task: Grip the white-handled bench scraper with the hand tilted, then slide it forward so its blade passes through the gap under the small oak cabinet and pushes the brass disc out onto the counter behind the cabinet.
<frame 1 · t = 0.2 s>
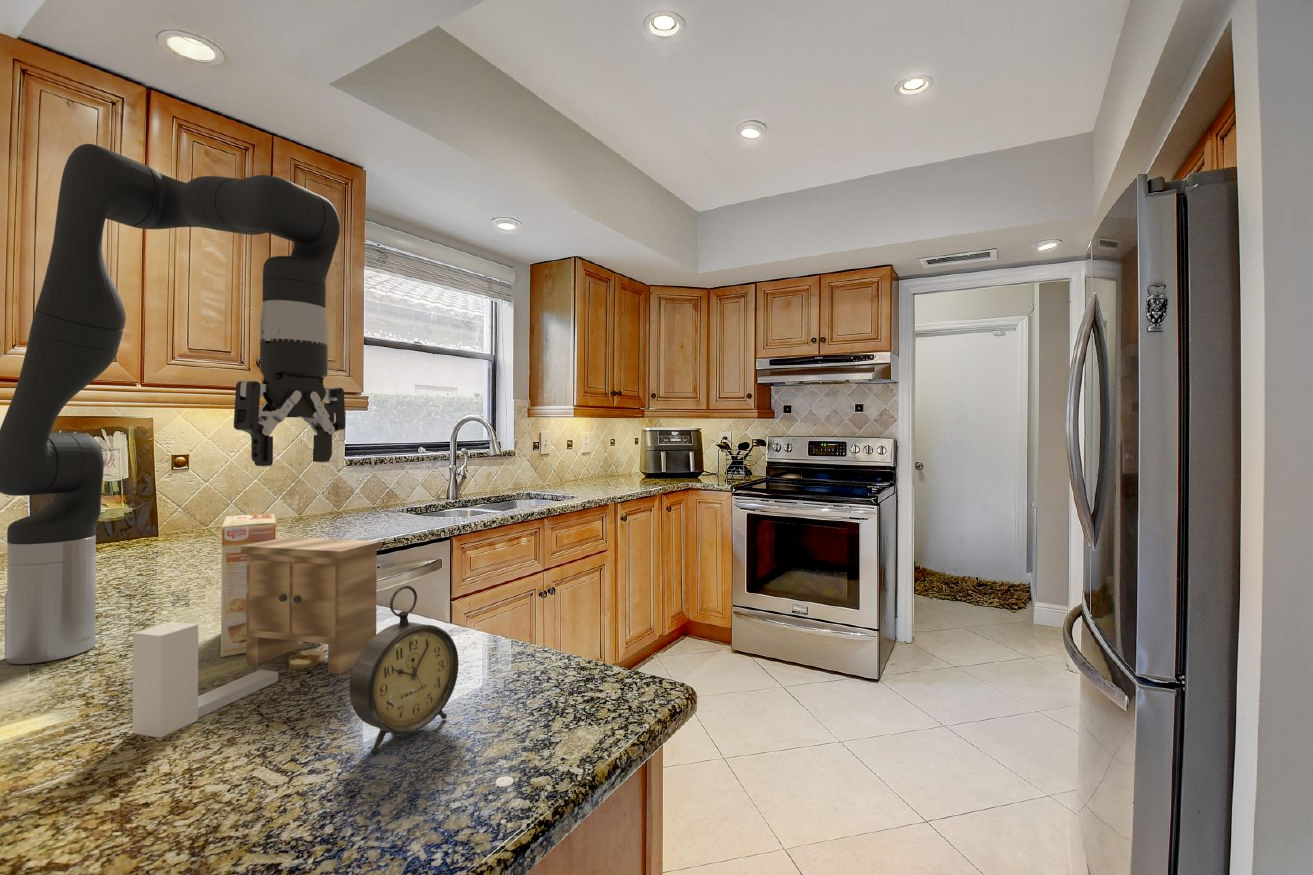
hand: (294, 463, 76), 29 cm above the countertop, tool pointing down, fingers open, 8 cm apart
alarm clock: (404, 735, 63), on the countertop
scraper: (165, 726, 65), on the countertop
coffeecake box: (249, 640, 93), on the countertop
cabinet: (312, 659, 84), on the countertop
token: (306, 664, 83), on the countertop
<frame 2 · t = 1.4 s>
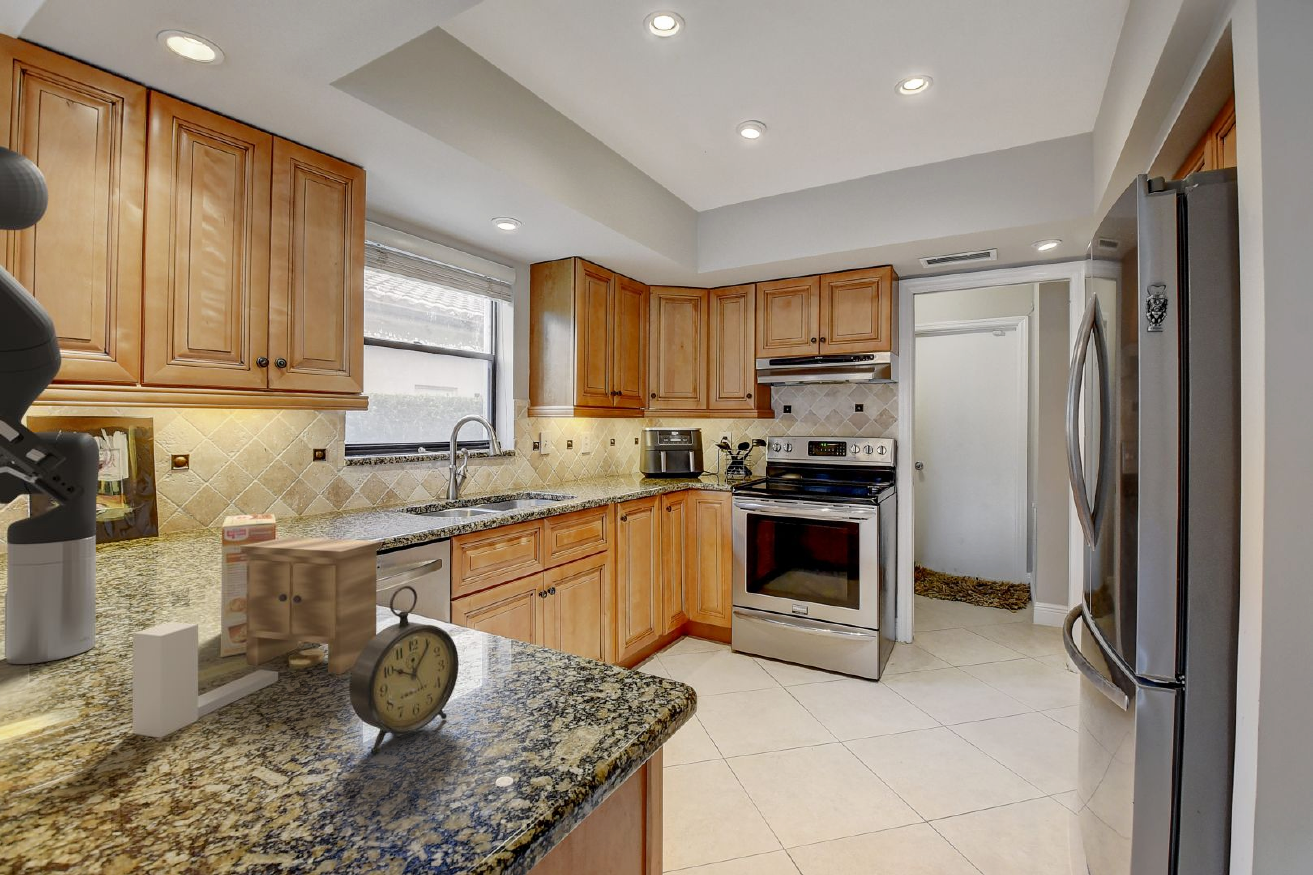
hand: (44, 498, 58), 26 cm above the countertop, tool tilted 45°, fingers open, 8 cm apart
nothing on the countertop moved.
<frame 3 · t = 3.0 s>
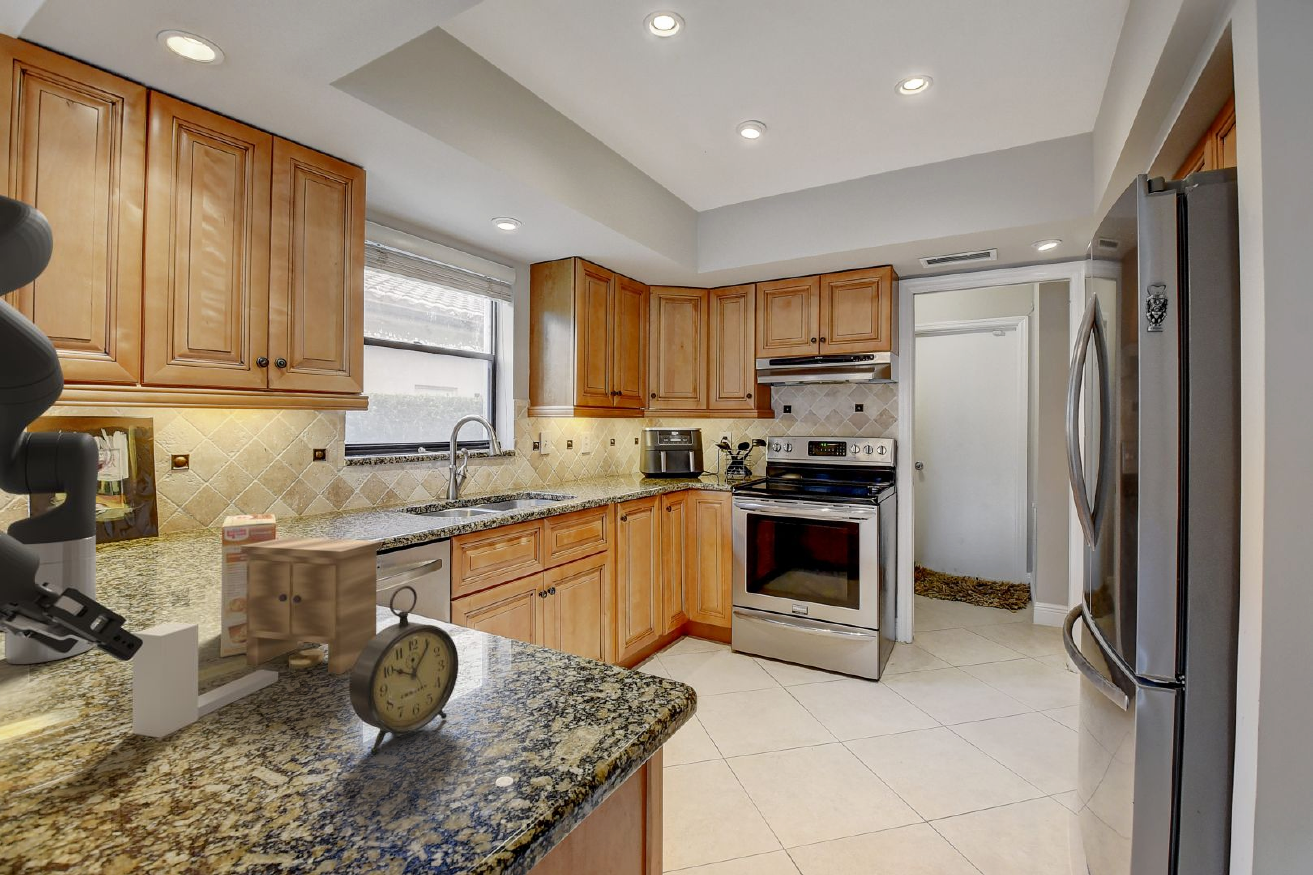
hand: (102, 647, 59), 11 cm above the countertop, tool tilted 45°, fingers open, 8 cm apart
nothing on the countertop moved.
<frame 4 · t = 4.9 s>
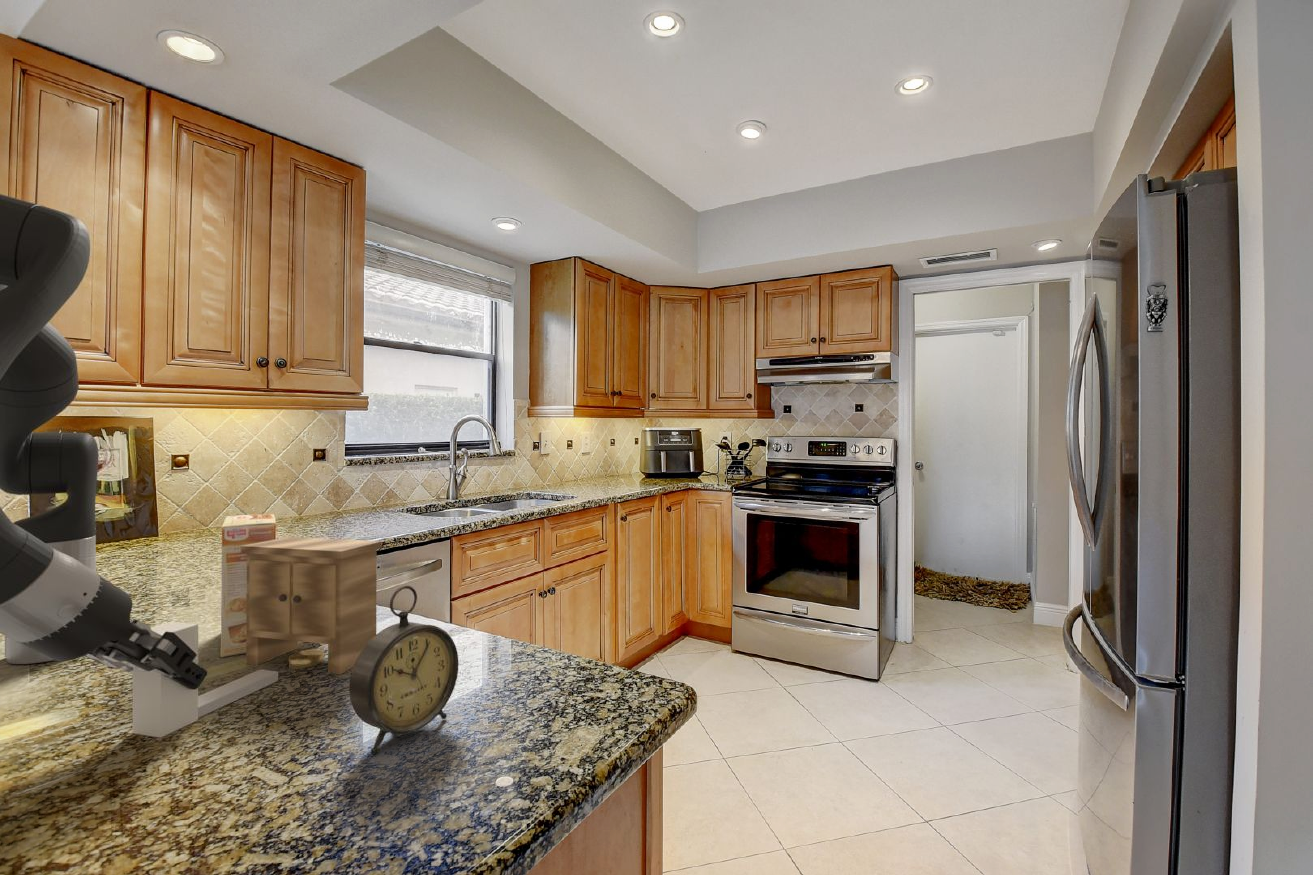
hand: (183, 678, 67), 5 cm above the countertop, tool tilted 45°, fingers closed on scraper, 4 cm apart
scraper: (165, 726, 65), on the countertop, touching gripper
everything else where it was.
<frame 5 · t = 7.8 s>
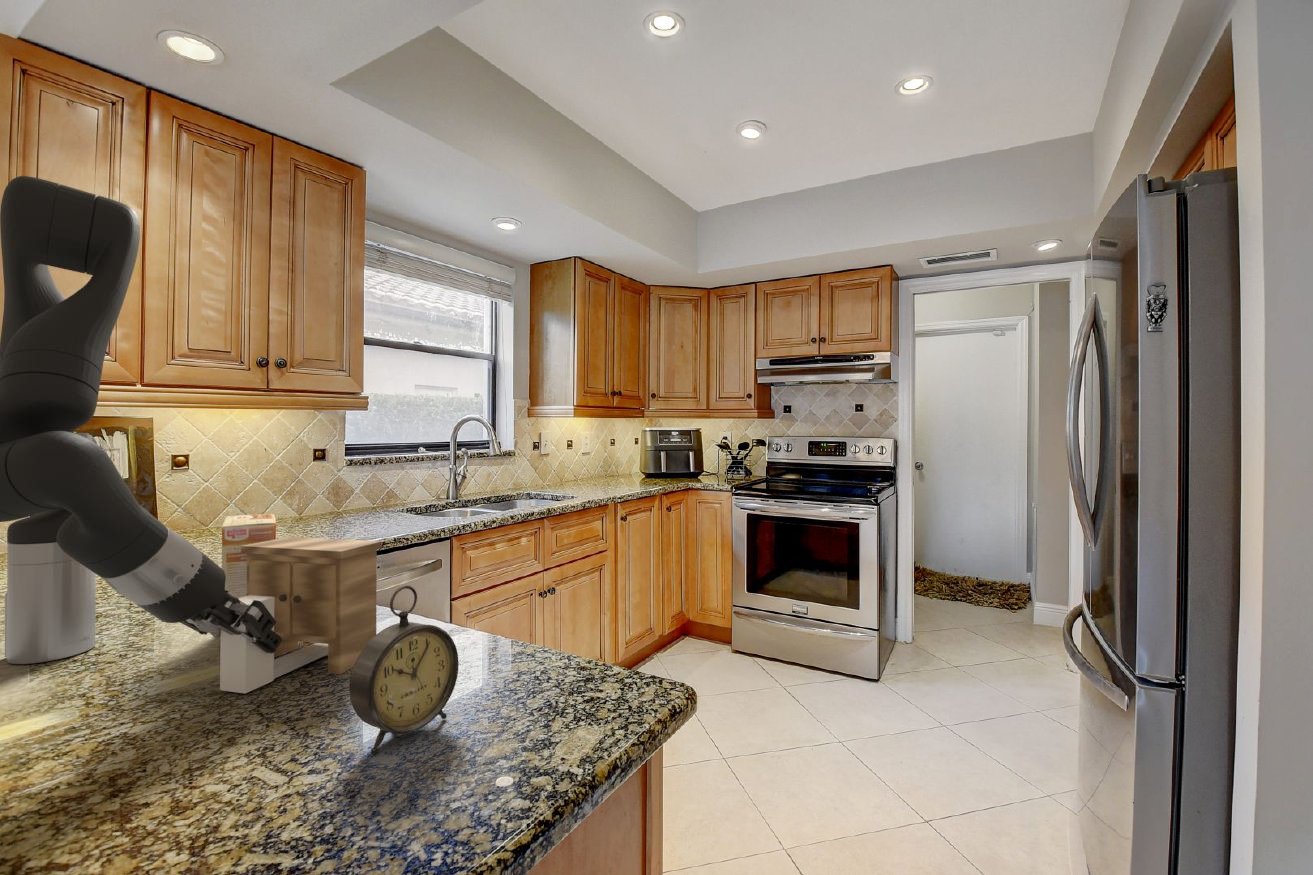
hand: (261, 644, 76), 5 cm above the countertop, tool tilted 45°, fingers closed on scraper, 4 cm apart
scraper: (247, 685, 74), on the countertop, touching gripper, token
token: (339, 648, 89), on the countertop, touching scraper
everything else where it was.
when the fingers open (5 cm above the countertop, at t = 9.8 s): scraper stays where it is, on the countertop.
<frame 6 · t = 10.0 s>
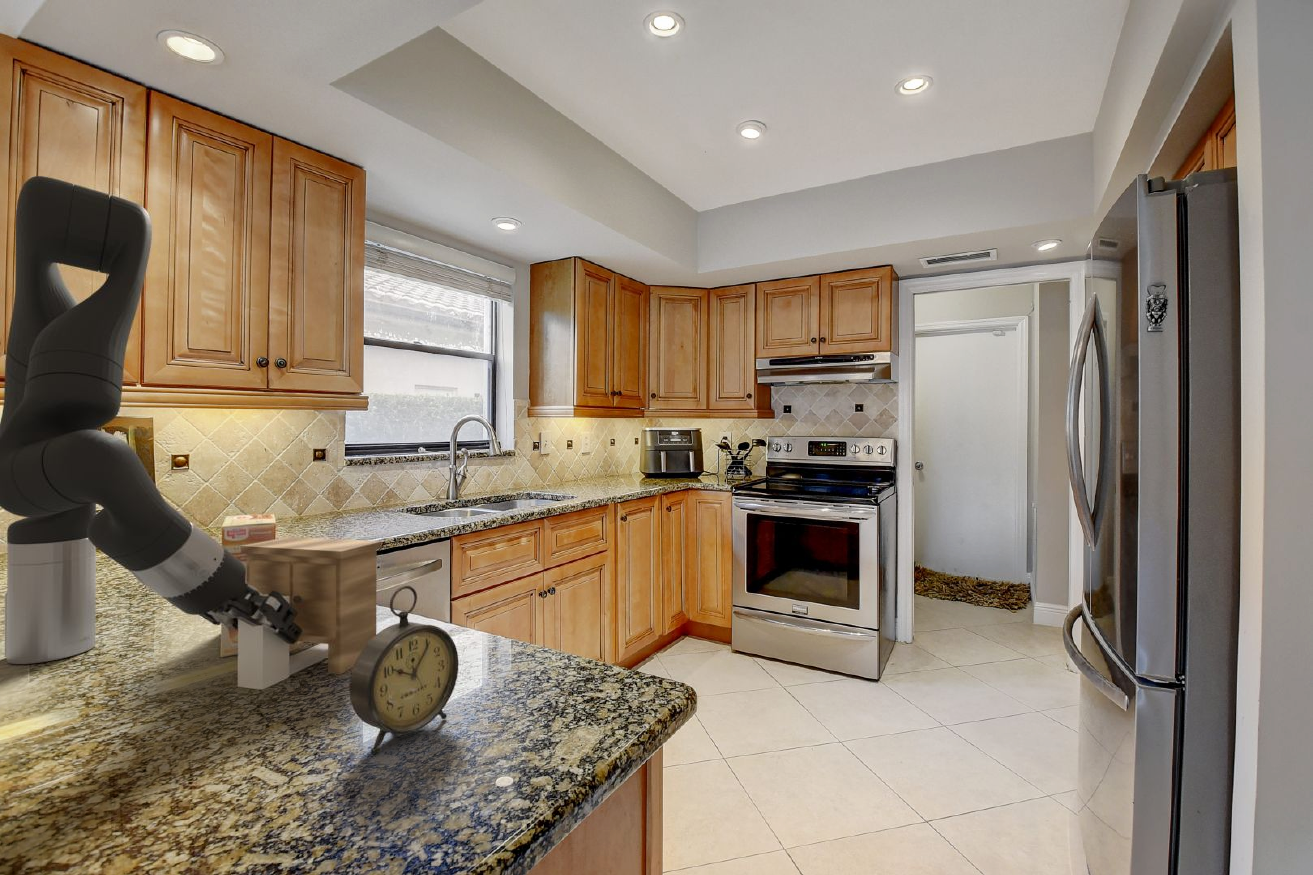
hand: (277, 635, 79), 6 cm above the countertop, tool tilted 45°, fingers open, 5 cm apart
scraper: (263, 681, 77), on the countertop
token: (351, 644, 91), on the countertop
everything else where it was.
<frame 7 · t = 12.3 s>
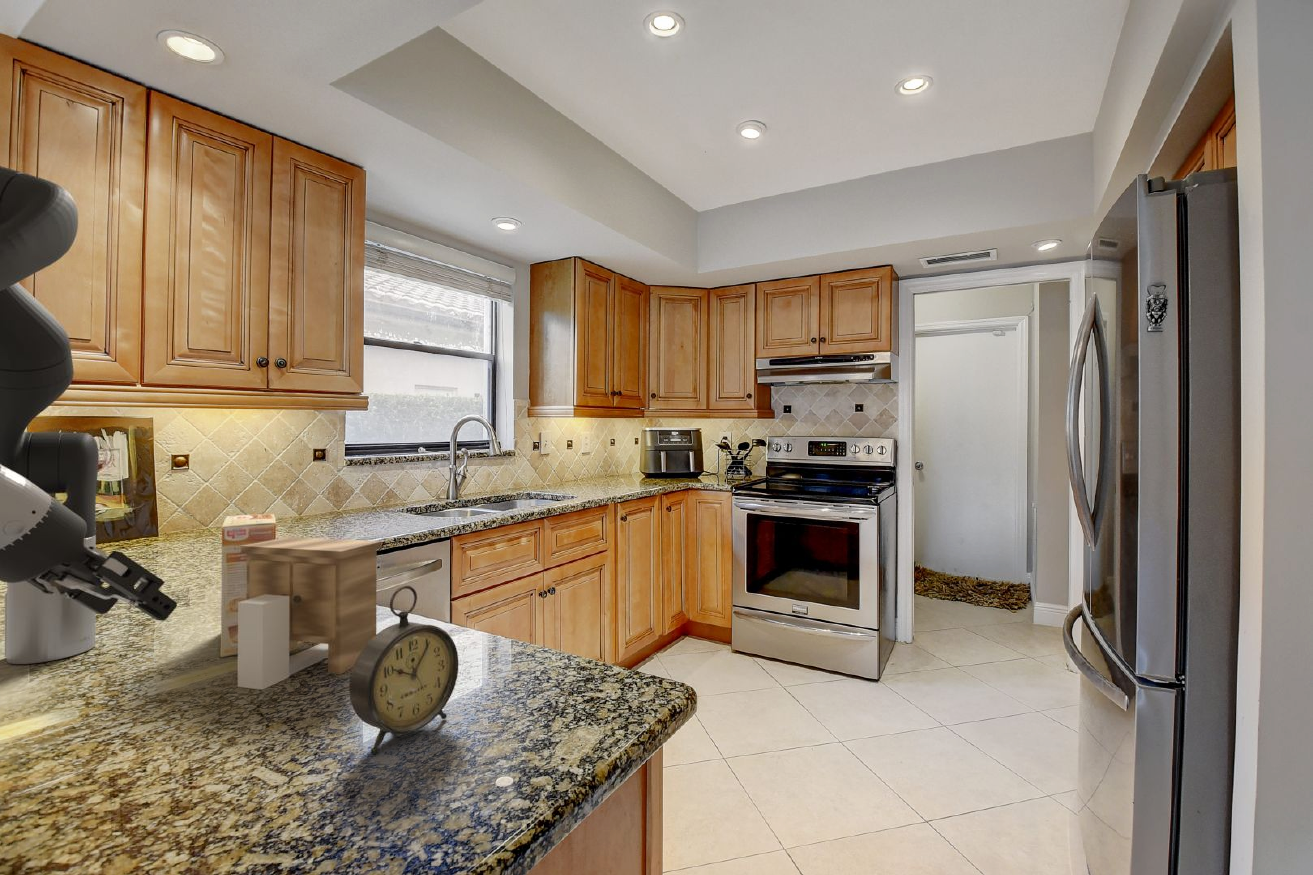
hand: (139, 609, 64), 13 cm above the countertop, tool tilted 45°, fingers open, 8 cm apart
nothing on the countertop moved.
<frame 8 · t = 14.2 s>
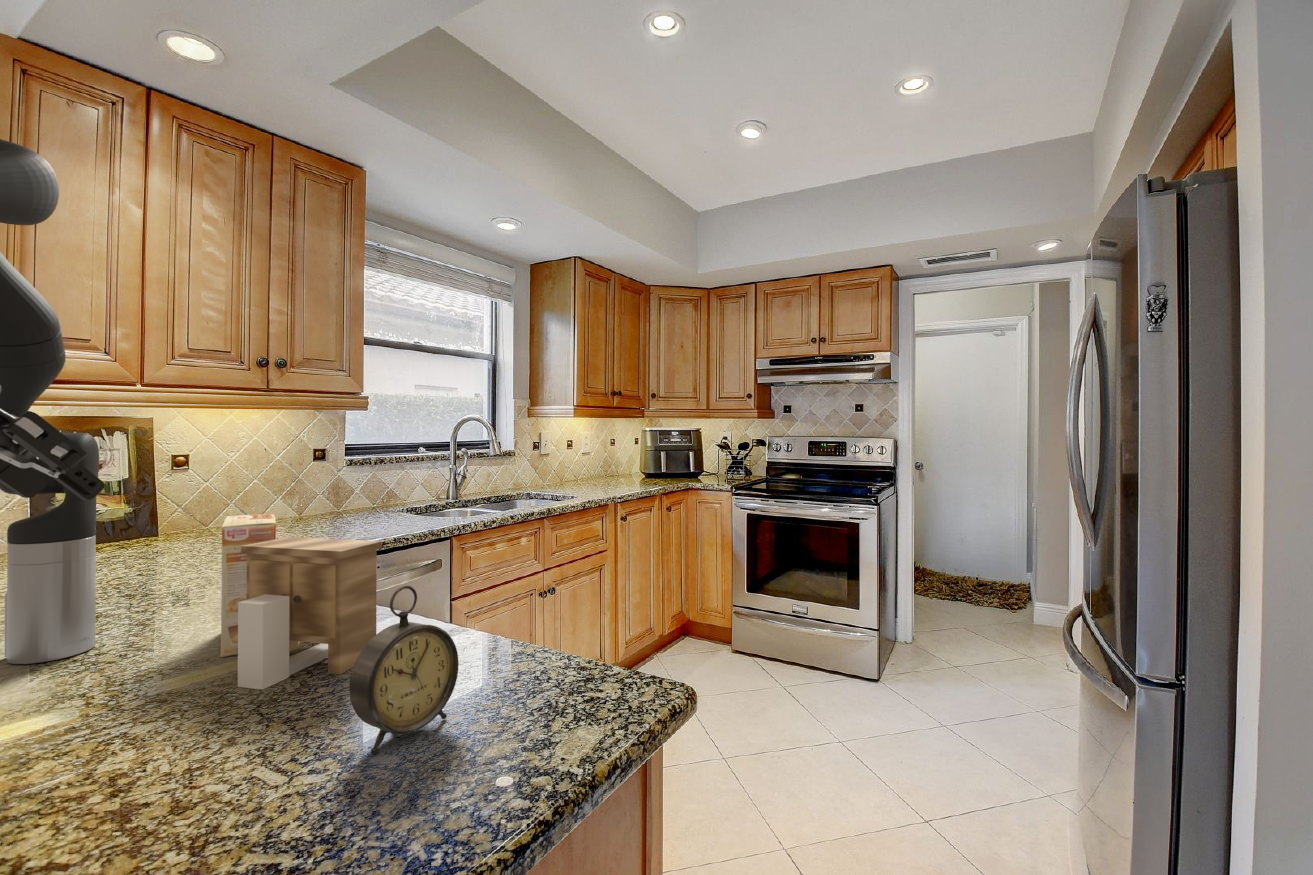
hand: (66, 492, 61), 27 cm above the countertop, tool tilted 45°, fingers open, 8 cm apart
nothing on the countertop moved.
at the end: token inside the target area (3.9 cm from its centre), on the countertop; the gripper is holding nothing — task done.
